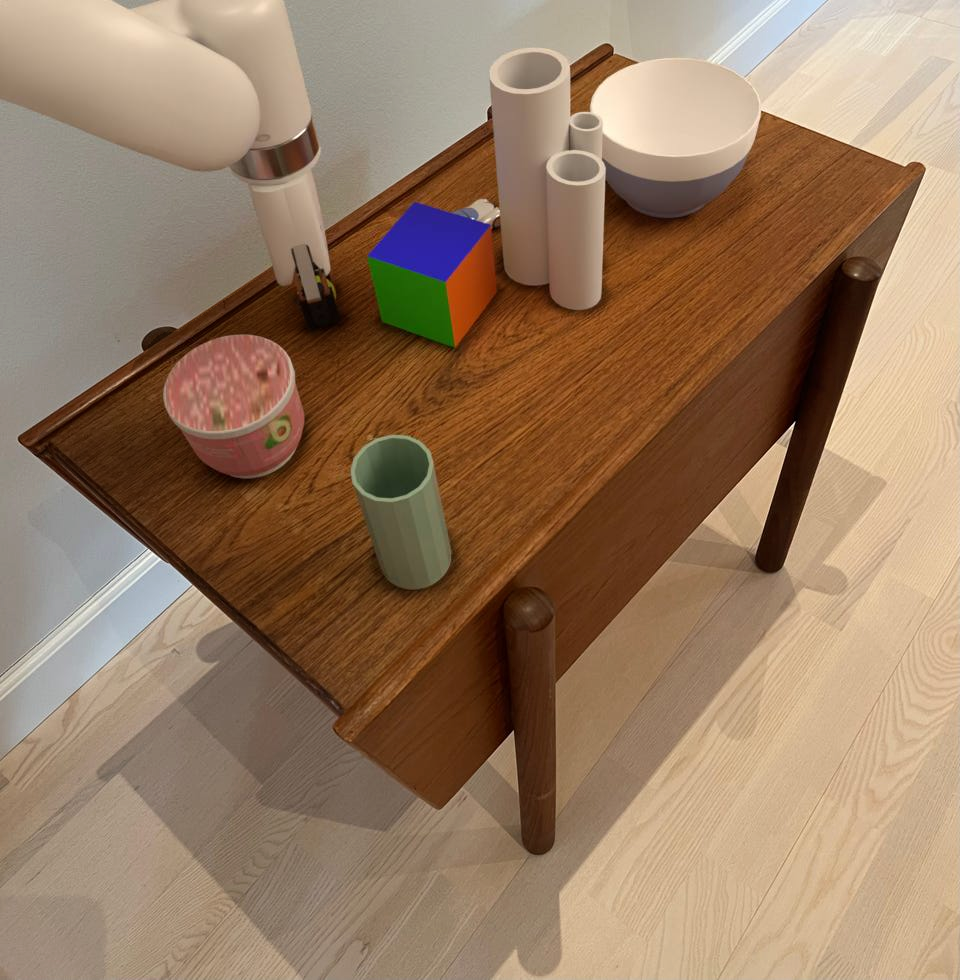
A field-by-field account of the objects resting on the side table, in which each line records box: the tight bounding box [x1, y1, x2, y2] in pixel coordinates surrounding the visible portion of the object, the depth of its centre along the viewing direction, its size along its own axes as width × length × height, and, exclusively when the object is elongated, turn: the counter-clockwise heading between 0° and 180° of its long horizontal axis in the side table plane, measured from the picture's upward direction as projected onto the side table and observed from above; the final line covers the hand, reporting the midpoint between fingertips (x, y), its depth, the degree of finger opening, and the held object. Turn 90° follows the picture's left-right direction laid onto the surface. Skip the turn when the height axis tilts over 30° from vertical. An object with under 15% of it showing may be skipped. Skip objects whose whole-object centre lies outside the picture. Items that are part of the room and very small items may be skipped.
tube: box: [349, 434, 452, 591], centre depth 69 cm, size 6×6×12 cm
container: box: [162, 334, 305, 479], centre depth 78 cm, size 10×10×8 cm
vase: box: [488, 47, 606, 311], centre depth 83 cm, size 11×7×20 cm, turn 50°
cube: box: [366, 201, 498, 349], centre depth 86 cm, size 8×8×8 cm
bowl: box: [589, 57, 762, 219], centre depth 93 cm, size 16×16×10 cm
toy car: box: [451, 198, 501, 230], centre depth 94 cm, size 4×12×3 cm, turn 127°
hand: (320, 307), depth 90 cm, fingers closed on ball, 3 cm apart
